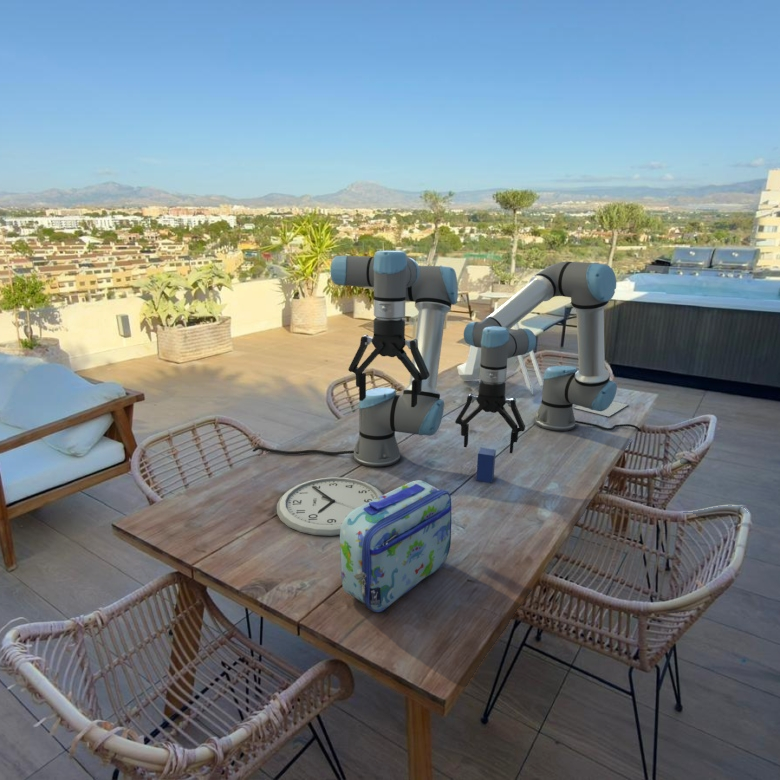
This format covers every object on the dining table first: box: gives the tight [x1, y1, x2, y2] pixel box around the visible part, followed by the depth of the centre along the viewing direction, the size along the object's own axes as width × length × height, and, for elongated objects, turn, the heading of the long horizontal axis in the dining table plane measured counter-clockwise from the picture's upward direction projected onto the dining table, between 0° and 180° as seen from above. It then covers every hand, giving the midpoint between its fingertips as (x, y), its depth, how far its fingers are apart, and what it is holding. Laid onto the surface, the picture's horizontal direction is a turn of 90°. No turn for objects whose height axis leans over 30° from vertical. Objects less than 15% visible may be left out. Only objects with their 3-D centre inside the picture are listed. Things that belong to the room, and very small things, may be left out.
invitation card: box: [573, 400, 629, 418], centre depth 226 cm, size 21×1×15 cm
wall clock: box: [276, 476, 385, 537], centre depth 142 cm, size 30×2×30 cm
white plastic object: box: [456, 322, 544, 395], centre depth 252 cm, size 37×45×31 cm
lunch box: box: [339, 479, 452, 613], centre depth 109 cm, size 26×11×21 cm, turn 134°
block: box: [475, 447, 497, 484], centre depth 158 cm, size 5×5×9 cm
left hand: (387, 402), depth 131 cm, fingers open, 13 cm apart
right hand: (488, 448), depth 157 cm, fingers open, 13 cm apart
